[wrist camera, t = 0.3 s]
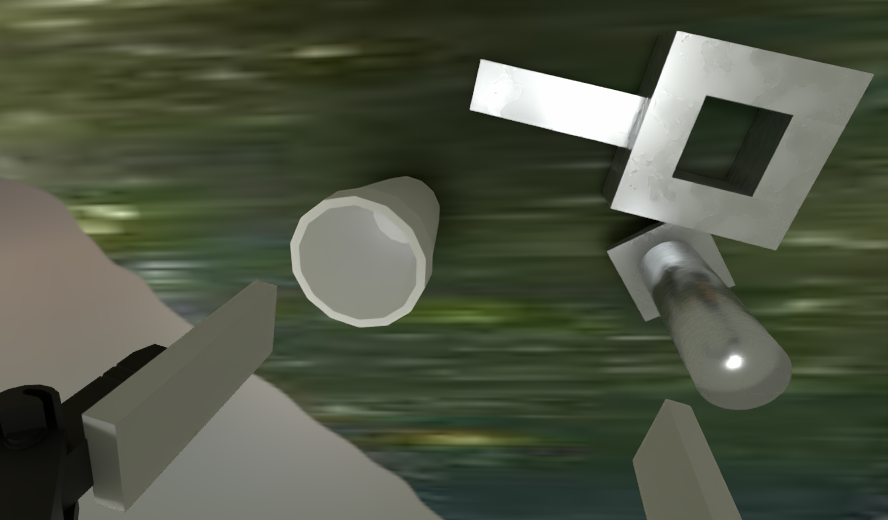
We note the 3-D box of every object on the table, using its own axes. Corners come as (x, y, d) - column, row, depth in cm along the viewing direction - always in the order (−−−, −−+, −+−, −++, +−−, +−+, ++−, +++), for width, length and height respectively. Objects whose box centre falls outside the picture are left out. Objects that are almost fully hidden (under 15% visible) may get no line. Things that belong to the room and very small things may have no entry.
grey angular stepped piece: (498, 0, 35) (466, -59, 18) (827, 73, 33) (1116, 79, 17) (442, 245, 43) (386, 354, 27) (702, 315, 41) (811, 478, 25)
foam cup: (469, 178, 40) (443, 224, 29) (442, 269, 44) (408, 344, 32) (367, 145, 41) (299, 177, 29) (348, 239, 45) (282, 301, 33)
